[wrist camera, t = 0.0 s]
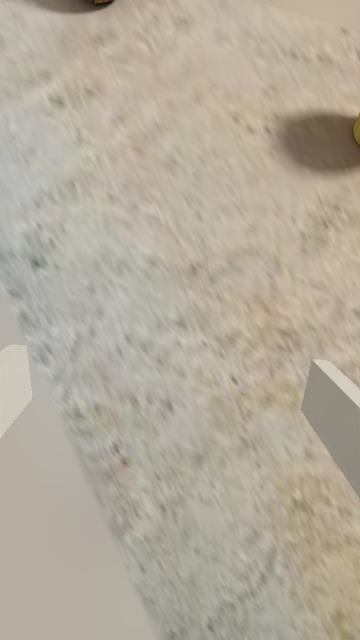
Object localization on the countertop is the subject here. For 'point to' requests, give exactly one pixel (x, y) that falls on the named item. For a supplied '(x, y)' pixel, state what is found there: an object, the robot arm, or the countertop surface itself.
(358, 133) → the plant pot
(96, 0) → the brown oval lump
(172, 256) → the countertop surface
